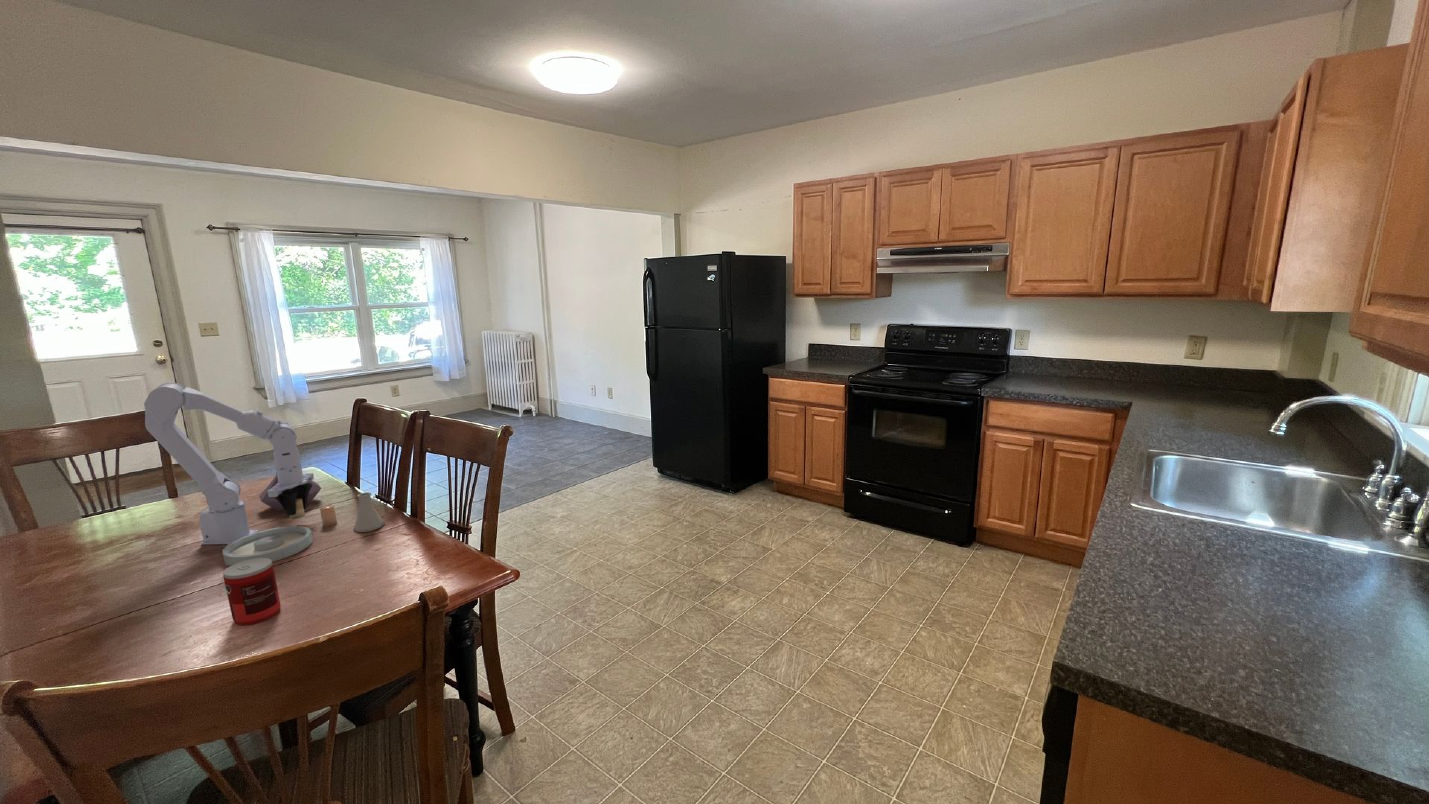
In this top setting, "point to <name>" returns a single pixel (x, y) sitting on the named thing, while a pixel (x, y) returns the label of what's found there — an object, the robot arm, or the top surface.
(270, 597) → the canned food
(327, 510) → the peach rounded cylinder
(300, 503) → the tan rounded cylinder
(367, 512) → the flask
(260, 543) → the groove tray
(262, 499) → the flask
